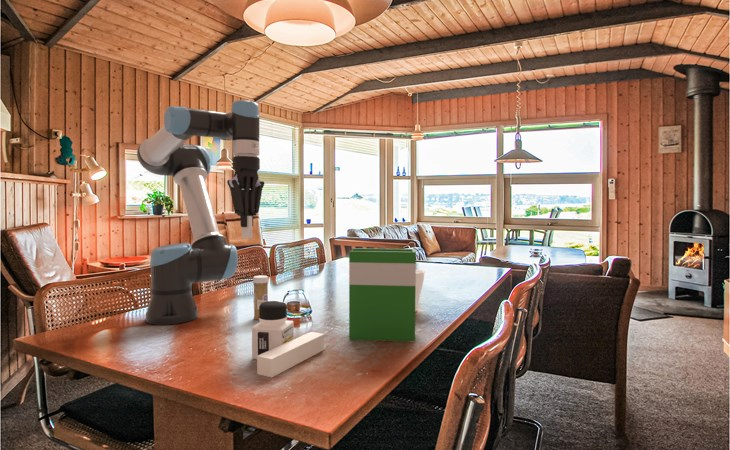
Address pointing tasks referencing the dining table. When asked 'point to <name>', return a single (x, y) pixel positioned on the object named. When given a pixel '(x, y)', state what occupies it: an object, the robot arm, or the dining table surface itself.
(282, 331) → the container
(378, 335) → the hardback book
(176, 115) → the robot arm
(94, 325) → the dining table surface
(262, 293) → the sprinkles bottle
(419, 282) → the cup
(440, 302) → the dining table surface
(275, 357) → the white rectangular bar
